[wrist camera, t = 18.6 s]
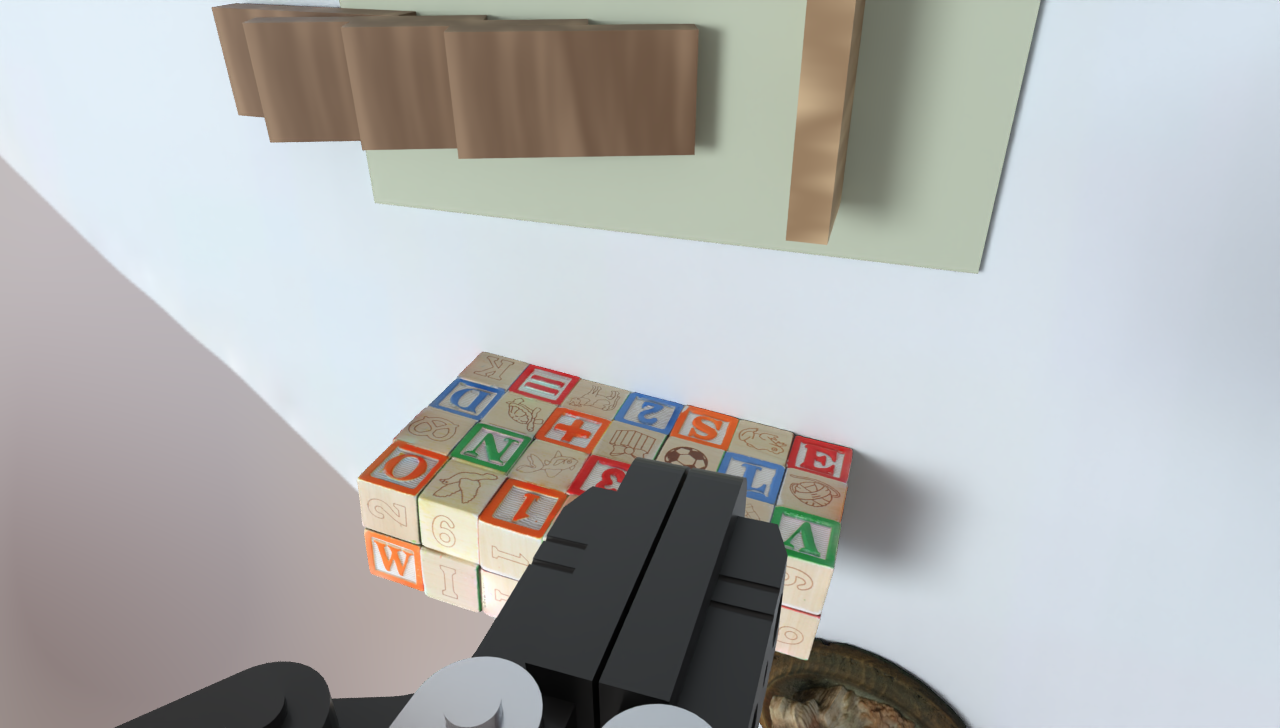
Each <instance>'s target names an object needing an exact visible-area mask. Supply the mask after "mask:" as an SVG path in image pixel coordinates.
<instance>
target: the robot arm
mask: <svg viewBox="0 0 1280 728" xmlns="http://www.w3.org/2000/svg"><path fill="white" fill-rule="evenodd" d="M746 495H747V478H745V477H740V476H735V475H730V474H725V473H720V472H715V471H709V470H704V469H699V468H692V469H690V467H688V466H682V465H677V464H672V463H667V462H662V461H657V460H651V459H646V458H641V457H637V458H635V459H634V461H633V462H632V464H631V465H630V467H629V469H628V471H627V473H626V475H625V477H624V479H623V480H622V482H621V484H620V486H619V488H618V490H617V491H614V490H609V489H604V488H599V487H594V486H592V487H591V488H589V489H588V490H587V491H585V492H584V493H582V494H581V495H580V496H578V497H577V498H576V499H574V500H573V501H571V502H570V503H569V504H567V505H566V506H565V507H563V509H562V511H561V512H560V514H559V516H558V517H557V519H556V521H555V522H554V524H553V526H552V527H551V529H550V530H549V532H548V534H547V538H546V541H543V542H542V544H541V545H540V547H539V549H538V550H537V552H536V554H535V555H534V557H533V561H532V564H529V565H528V567H527V568H526V570H525V572H524V573H523V575H522V577H521V578H520V580H519V582H518V583H517V585H516V586H515V588H514V590H513V591H512V593H511V595H510V596H509V598H508V600H507V601H506V603H505V605H504V606H503V608H502V609H501V611H500V613H499V614H498V616H497V618H496V619H495V621H494V623H493V624H492V626H491V628H490V630H489V631H488V633H487V634H486V636H485V638H484V639H483V641H482V642H481V644H480V646H479V647H478V649H477V651H476V652H475V653H474V655H473V656H472V658H468V659H464V660H461V661H457V662H454V663H452V664H450V665H448V666H446V667H444V668H442V669H441V670H439V671H437V672H436V673H434V674H433V675H432V676H431V677H430V678H428V679H427V680H426V681H425V682H424V683H423V684H422V685H421V686H420V688H419V689H418V690H417V691H416V692H415V693H413V694H409V695H404V696H394V697H368V698H342V699H341V698H340V699H332V698H331V695H330V692H329V688H328V685H327V684H326V682H325V680H324V678H323V677H322V676H321V675H320V674H319V673H318V672H317V671H315V670H314V669H312V668H311V667H308V666H306V665H303V664H300V663H295V662H272V663H266V664H262V665H258V666H255V667H252V668H249V669H247V670H245V671H242V672H240V673H237V674H235V675H233V676H230V677H229V678H226V679H224V680H222V681H219V682H217V683H215V684H212V685H210V686H208V687H205V688H203V689H201V690H199V691H196V692H194V693H192V694H190V695H187V696H185V697H183V698H181V699H178V700H176V701H174V702H172V703H169V704H167V705H165V706H163V707H160V708H158V709H156V710H153V711H151V712H149V713H147V714H144V715H142V716H140V717H138V718H135V719H133V720H131V721H129V722H126V723H124V724H122V725H120V726H117V727H115V728H758V725H759V721H760V716H761V712H762V707H763V701H764V698H765V693H766V689H767V684H768V680H769V674H770V670H771V666H772V661H773V657H774V652H775V648H776V643H777V638H778V631H779V623H780V614H781V606H782V598H783V590H784V582H785V574H786V566H787V558H788V555H787V552H786V548H785V545H784V542H783V539H782V536H781V533H780V530H779V526H778V524H774V523H769V522H764V521H760V520H755V519H750V518H745V507H746Z"/></svg>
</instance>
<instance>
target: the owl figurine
mask: <svg viewBox="0 0 1280 728" xmlns="http://www.w3.org/2000/svg"><path fill="white" fill-rule="evenodd" d="M829 645H830V646H827V645H824V644H822V641H821V640H819V639H814V642H813V645H812V648H811V652H810V655H809V658H808V660H802V659H799V658H796V657H793V656H790V655H787V654H783V653H780V652H777V651H775V652H774V657H773V661H772V666H771V670H770V674H769V680H768V684H767V689H766V693H765V698H764V701H763V707H762V712H761V716H760V721H759V722H760V724H761V725H762V727H763V728H966V726H965V724H964V723H963V721H962V720H961V719H960V718H959V717H958V715H957V714H956V713H955V712H954V711H953V710H952V709H951V708H950V707H949V706H948V705H947V704H946V703H945V702H944V701H943V700H942V699H941V698H939V697H938V696H937V695H936V694H935V693H934V692H933V691H932V690H931V689H930V688H928V687H927V686H926V685H925V684H924V683H922V682H921V681H919V680H918V679H916V678H915V677H913V676H911V675H910V674H909V673H907V672H905V671H904V670H902V669H900V668H899V667H897V666H896V665H894V664H893V663H891V662H889V661H887V660H885V659H883V658H881V657H879V656H877V655H875V654H872V653H870V652H868V651H865V650H863V649H859V648H856V647H853V646H849V645H847V644H841V643H830V644H829Z"/></svg>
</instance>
